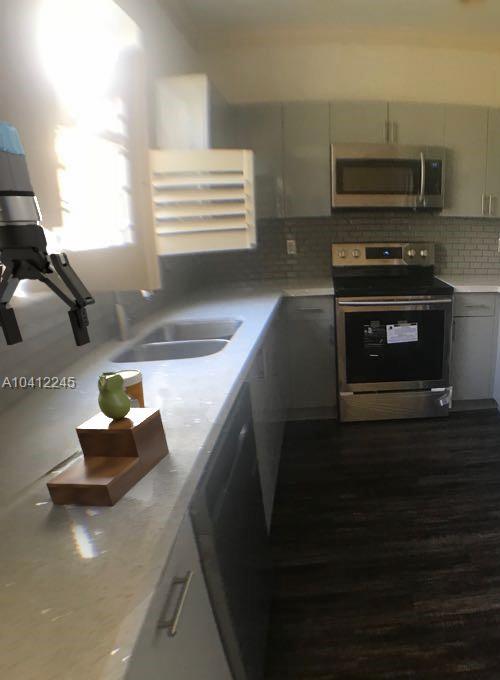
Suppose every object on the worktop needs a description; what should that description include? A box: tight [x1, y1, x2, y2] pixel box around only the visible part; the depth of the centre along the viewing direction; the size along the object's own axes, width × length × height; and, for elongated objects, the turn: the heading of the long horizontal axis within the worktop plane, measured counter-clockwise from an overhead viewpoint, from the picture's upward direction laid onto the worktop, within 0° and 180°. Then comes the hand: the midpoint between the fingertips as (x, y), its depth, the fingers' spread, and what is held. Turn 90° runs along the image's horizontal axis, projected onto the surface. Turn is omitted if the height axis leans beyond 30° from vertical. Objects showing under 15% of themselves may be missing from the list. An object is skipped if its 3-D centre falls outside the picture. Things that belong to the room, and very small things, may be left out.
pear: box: [97, 371, 131, 419], centre depth 94 cm, size 6×5×10 cm
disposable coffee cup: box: [113, 368, 146, 408], centre depth 121 cm, size 10×10×12 cm
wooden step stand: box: [45, 407, 170, 507], centre depth 93 cm, size 12×20×11 cm, turn 175°
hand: (49, 344), depth 86 cm, fingers open, 13 cm apart
